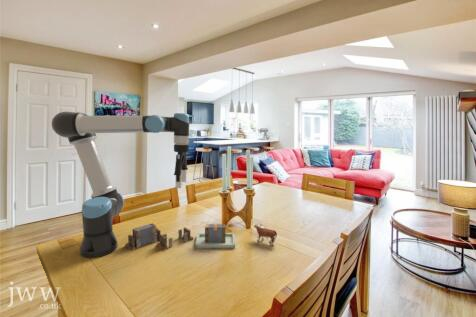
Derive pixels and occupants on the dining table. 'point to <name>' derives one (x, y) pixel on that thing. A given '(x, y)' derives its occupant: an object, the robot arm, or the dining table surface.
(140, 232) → the fuse
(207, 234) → the block
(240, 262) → the dining table surface
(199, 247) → the tray
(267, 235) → the bull figurine
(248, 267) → the dining table surface
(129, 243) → the holder
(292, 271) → the dining table surface
